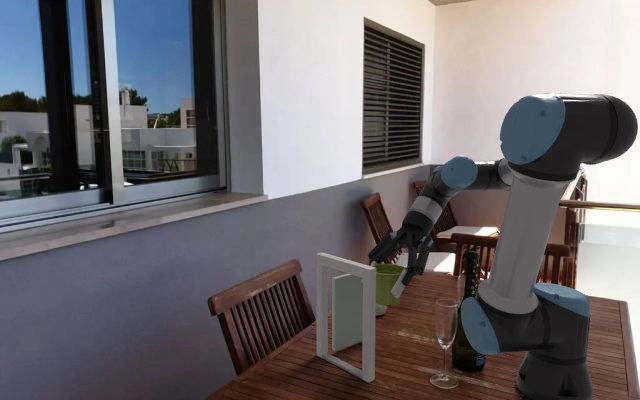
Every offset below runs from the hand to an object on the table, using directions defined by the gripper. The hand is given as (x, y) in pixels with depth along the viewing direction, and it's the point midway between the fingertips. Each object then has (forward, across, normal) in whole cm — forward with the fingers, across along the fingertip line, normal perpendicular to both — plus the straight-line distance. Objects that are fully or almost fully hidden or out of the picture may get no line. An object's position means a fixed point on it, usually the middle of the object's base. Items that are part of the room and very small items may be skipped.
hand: (378, 289), depth 122 cm
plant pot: (+1, 0, -5) cm, 5 cm away
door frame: (+19, +2, -6) cm, 20 cm away
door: (+12, +10, -12) cm, 19 cm away
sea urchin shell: (-2, +23, -28) cm, 36 cm away
